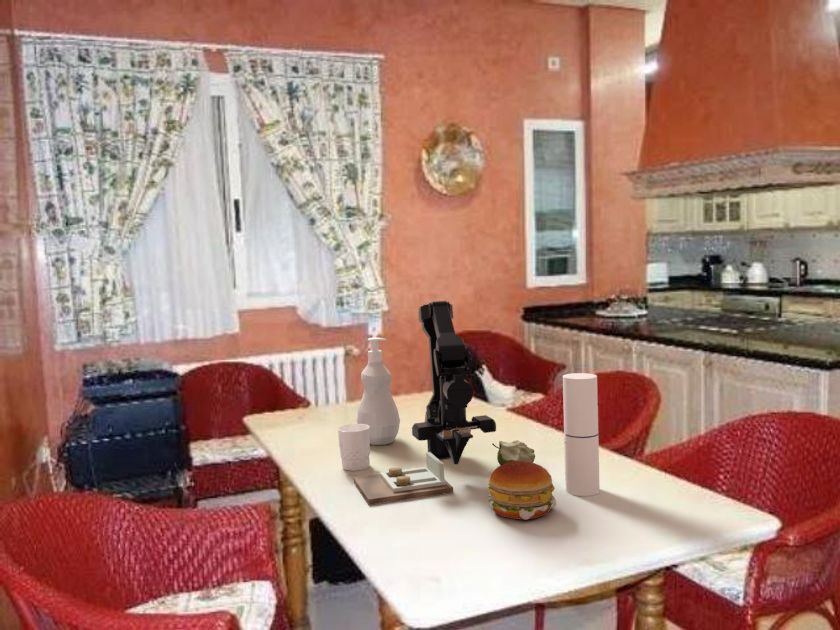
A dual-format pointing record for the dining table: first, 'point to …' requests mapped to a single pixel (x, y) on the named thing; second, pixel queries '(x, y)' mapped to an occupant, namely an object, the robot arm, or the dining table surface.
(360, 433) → the white cup
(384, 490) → the board
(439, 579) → the dining table surface
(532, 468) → the burger
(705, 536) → the dining table surface
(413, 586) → the dining table surface
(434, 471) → the panel
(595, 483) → the cylindrical container
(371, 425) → the soap bottle
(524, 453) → the fruit
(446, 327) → the robot arm
